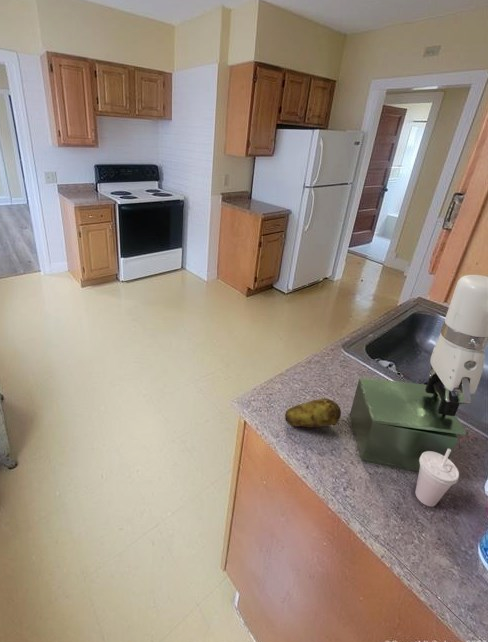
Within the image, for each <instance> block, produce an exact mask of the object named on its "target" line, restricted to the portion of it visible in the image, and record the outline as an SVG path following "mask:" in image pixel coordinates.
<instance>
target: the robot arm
mask: <svg viewBox="0 0 488 642" xmlns="http://www.w3.org/2000/svg"><path fill="white" fill-rule="evenodd" d="M487 346H488V276H486V275H481V274H466V275H462V276H461V277H459V279H458V280H457V283H456V285H455V289H454V292H453V295H452V298H451V300H450V303H449V306H448V309H447V311H446V315H445V318H444V321H443V324H442V327H441V330H440V333H439V336H438V338H437V340H436V342H435V344H434V348H433V350H432V353H431V354H430V361H429V362H430V371H429V373H428V376H429V377H428V381H427V383H426V385H427V386H426V389H425V391H426V392H427V393H431V394H433V393H434V388H433V386H432V384H433V382H435V381H440V382H441V383H442V384H443V386H444V387H445V389H446V391H445V398H442V400H441V402H440V405H439V408H438V410H437V412H438V413H439V414H442V415H448V416H455V415H456V414H457V412H458V409H459V407H460V405H463V404H464V405H471V403H472V398H471V397H472V396H471V395H474V394H476V391H477V389H478V387H479V384H480V381H481V377H482V375H483V370H484V366H485V360H486V351H485V350H486V348H487ZM452 392H454V393H455V392H456V395H452Z"/></svg>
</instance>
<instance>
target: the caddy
mask: <svg viewBox="0 0 488 642" xmlns="http://www.w3.org/2000/svg"><path fill="white" fill-rule="evenodd" d="M356 385H357V386H356V389H355V393H354V395H353V396H354V397H353V401H352V405H351V409H350V412H349V417H350V421H351V425H352V429H353V433H354V436H355V441H356V445H357V449H358V452H359V457H360V461H362V462H367V463H372V464H377V465H382V466H387V467H391V468H396V469H397V468H398V469H402V470H406V471H412V472H417V473H419V469H420V462H419V459H420V457H421V455H422V453H423V452H426V451H433V452H437V453H439V454H441V455H443V456H445V454H446V452H447V449H451V452H450V454H449V457H448V459H449V460H450V458H451V456H452V454H453V451H454V449H455V447H456V445H457V443H458V441H459V436H458V434H454V433H446V432H439V431H431V430H424V429H416V428H409V427H401V426H394V425H386V424H379V423H373V421H372V418H371V415H370V412H369V409H368V406H367V403H366V400H365V397H364V394H363V391H362V388H361V385H360V382H359V380H358V382H357V384H356Z"/></svg>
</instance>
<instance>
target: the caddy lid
mask: <svg viewBox="0 0 488 642" xmlns="http://www.w3.org/2000/svg"><path fill="white" fill-rule="evenodd" d="M358 381H359V382H360V385H361V388H362V391H363V394H364V397H365V400H366V403H367V406H368V409H369V412H370V415H371V418H372V421H373V423H379V424H386V425H394V426H401V427H409V428H416V429H424V430H431V431H439V432H446V433H454V434H456V435H461V436H466V434H467V431H466V429H465V427H464V426H463V425H462V423H461V422H460V420H459V418H458V417H457V415H456V414H455V416H448V415H442V414H439V413H438V412H437V410H438V408H439V405H440V402H441V400H442V398H445V391H446V387H445V385H444V386H443V384H442V383H441V382H440V381H435V382H433V384H432V386H433V388H434V393H433V394H431V393H427V392H426V391H425V389H426V386H427V384H423V383H415V382H405V381H395V380H387V379H385V380H384V379H376V378H369V377H359V378H358Z"/></svg>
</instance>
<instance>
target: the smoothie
mask: <svg viewBox="0 0 488 642" xmlns="http://www.w3.org/2000/svg"><path fill="white" fill-rule="evenodd" d="M450 452H451V449H447V452H446V454H445V456H443V455H441V454H439V453H437V452H433V451H426V452H423V453H422V455H421V457H420V459H419V462H420V469H419V472H418V474H417V475H418V476H417V481H416V487H415V492H414V493H415V496H416V498H417V500H418V501H419V502H421V504H423V505H425V506H426V507H429V508H432V507H435V506H436V505H437V504H438V503H439V502H440V500H442V498H443V496H444V495H445V494H446V493H447V492H448V490H449V489H450V488H451V487H452V486H453V485H455V484H457V482H458V481H459V477H460V472H459V469H458V468H457V465H455V464H454V462H453V461H452V460H450V458H449V459H448V457H449V454H450Z"/></svg>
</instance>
